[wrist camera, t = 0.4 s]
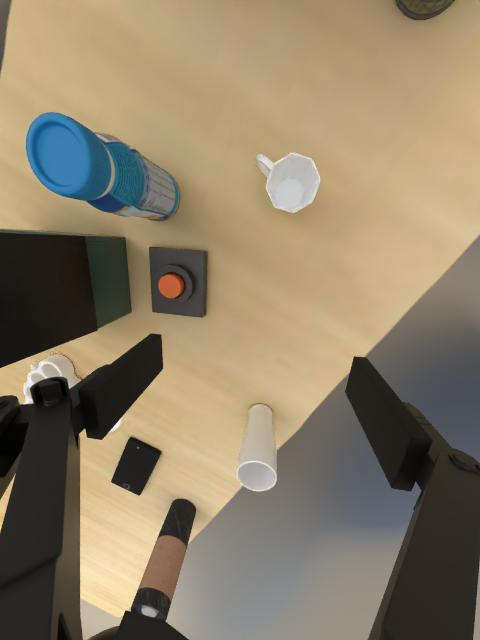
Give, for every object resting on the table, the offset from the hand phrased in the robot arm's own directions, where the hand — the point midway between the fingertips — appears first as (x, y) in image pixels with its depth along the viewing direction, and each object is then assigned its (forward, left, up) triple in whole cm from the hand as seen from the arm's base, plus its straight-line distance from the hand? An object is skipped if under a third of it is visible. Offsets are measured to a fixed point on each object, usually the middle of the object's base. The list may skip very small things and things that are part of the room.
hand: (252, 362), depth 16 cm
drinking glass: (+28, +2, -29) cm, 40 cm away
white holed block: (+29, -47, -29) cm, 62 cm away
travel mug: (+64, -16, -29) cm, 72 cm away
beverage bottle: (-14, -20, -29) cm, 38 cm away
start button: (0, -16, -25) cm, 29 cm away
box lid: (0, -29, -10) cm, 30 cm away
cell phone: (+51, -29, -29) cm, 65 cm away
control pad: (0, -16, -28) cm, 33 cm away
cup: (-16, +1, -29) cm, 33 cm away
